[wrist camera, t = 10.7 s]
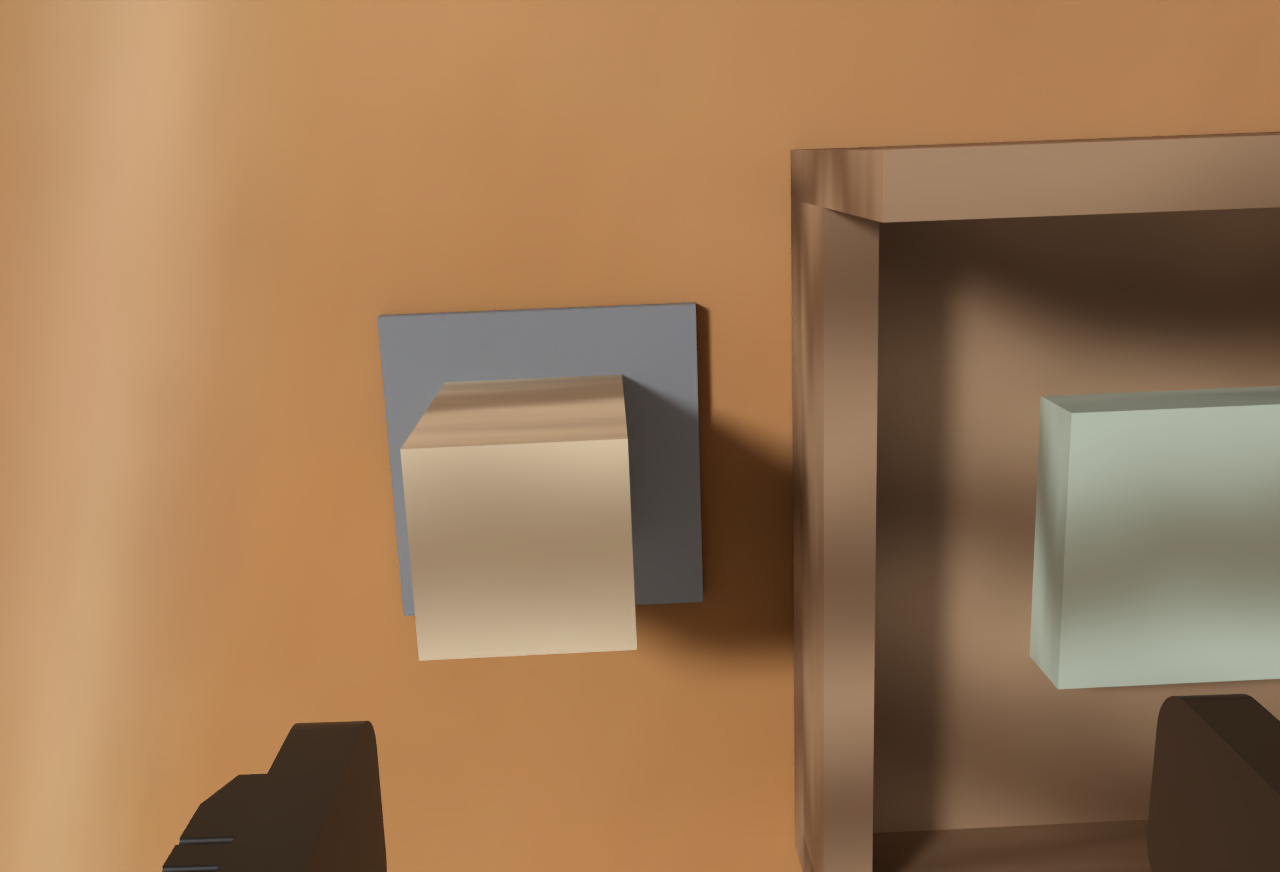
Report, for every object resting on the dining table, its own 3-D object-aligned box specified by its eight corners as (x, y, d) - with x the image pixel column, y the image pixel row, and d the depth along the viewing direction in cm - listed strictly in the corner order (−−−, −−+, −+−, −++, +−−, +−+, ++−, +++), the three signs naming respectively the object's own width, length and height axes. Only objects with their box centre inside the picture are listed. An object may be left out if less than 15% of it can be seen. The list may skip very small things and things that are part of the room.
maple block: (445, 382, 30) (400, 449, 24) (621, 374, 30) (627, 439, 24) (458, 550, 31) (418, 660, 25) (629, 541, 32) (637, 649, 25)
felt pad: (380, 315, 30) (377, 317, 30) (694, 302, 30) (695, 304, 30) (406, 609, 32) (403, 615, 32) (702, 596, 32) (703, 601, 32)
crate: (791, 149, 30) (883, 149, 20) (1540, 121, 30) (1988, 109, 20) (795, 844, 34) (872, 1120, 24) (1446, 811, 35) (1776, 1069, 25)
